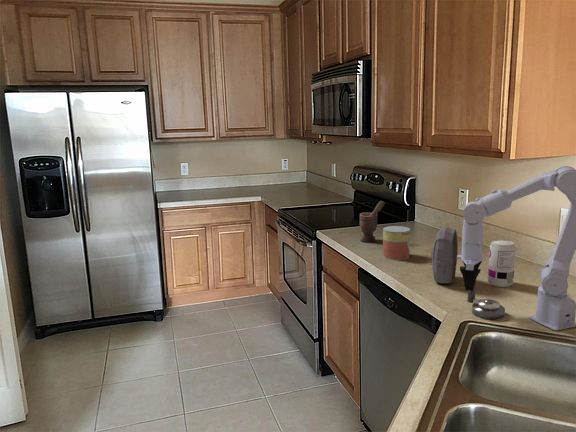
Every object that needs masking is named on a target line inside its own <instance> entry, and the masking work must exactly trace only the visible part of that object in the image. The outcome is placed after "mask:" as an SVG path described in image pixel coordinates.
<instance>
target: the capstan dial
mask: <svg viewBox="0 0 576 432" xmlns="http://www.w3.org/2000/svg"><path fill="white" fill-rule="evenodd" d="M476 290H477V289H476V288H474V290H473V291H467V303H470V304H471V303H472V304H474V303H476V304H478V307H480V308H481V309H485V310H498V309H499V308H500V305H501V303H500V302H499V301H497V300H495V299H491V298H480V299H479V298H476Z"/></svg>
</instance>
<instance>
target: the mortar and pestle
mask: <svg viewBox="0 0 576 432" xmlns="http://www.w3.org/2000/svg"><path fill="white" fill-rule="evenodd" d="M385 204H386V203H385V201H383V200H380V201H379V202H378V203H377V204H376V206H375V208H374V210H373V211H372V212H361V213H359V227H360V230H361V232H362V233H363V234H362V235H361V237H360V242H363V243H371V242H376V240H377V239H376V237H375V236H374V232H375V231H376V230H377V226H378V219H379V217H378V215H379V214H378V213H379V212H380V211H381V210H382V208H383V207H384V206H385Z"/></svg>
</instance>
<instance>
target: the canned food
mask: <svg viewBox="0 0 576 432" xmlns="http://www.w3.org/2000/svg"><path fill="white" fill-rule="evenodd" d="M382 231H383V232H382V257H383V258H384V257H385V259H387V260H391V259H393V260H394V261H402V260H403V261H404V260H408V259H409V258H410V256H411V255H410V253H411V252H410V249H411V248H410V245H411V243H410V242H411V228H409V227H407V226H402V225H390V226H385V227H383V228H382ZM393 260H392V261H393Z"/></svg>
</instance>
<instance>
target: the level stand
mask: <svg viewBox="0 0 576 432" xmlns="http://www.w3.org/2000/svg"><path fill="white" fill-rule="evenodd" d="M471 313H472V315H474V316H475V317H477V318H479V319H483V320H490V321H496V320H497V321H498V320H502V319H504V318H505V315H506V308H505V307H504V306H503V305H501V304H500V308H499V309H498V310H485V309H481V308H480V307H478V304H476V303H472V309H471Z"/></svg>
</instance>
